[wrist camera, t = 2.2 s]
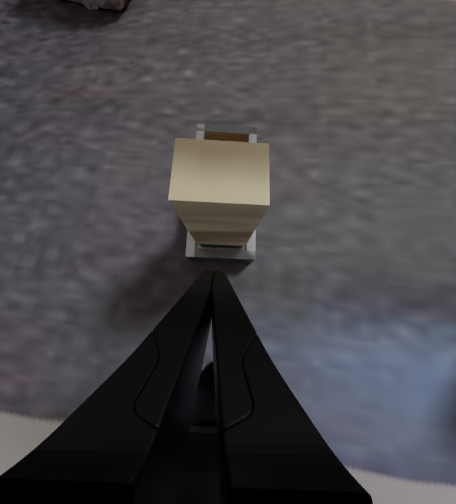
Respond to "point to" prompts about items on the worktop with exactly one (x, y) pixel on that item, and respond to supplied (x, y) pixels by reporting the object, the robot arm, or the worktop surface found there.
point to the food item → (103, 4)
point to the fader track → (248, 251)
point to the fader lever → (220, 189)
